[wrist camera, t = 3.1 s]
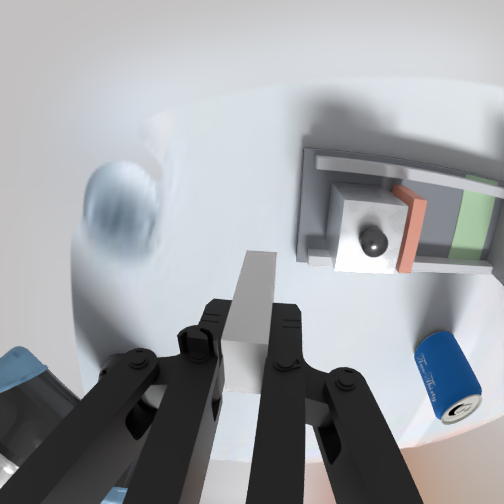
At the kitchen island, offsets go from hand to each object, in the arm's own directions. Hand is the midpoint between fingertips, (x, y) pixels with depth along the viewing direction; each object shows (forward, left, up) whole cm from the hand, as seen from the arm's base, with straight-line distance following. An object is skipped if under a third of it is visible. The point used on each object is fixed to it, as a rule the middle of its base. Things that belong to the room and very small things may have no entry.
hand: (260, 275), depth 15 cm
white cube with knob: (+8, 0, -13) cm, 15 cm away
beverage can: (+24, -18, -14) cm, 33 cm away
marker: (+12, 0, -12) cm, 17 cm away
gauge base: (+17, 0, -14) cm, 22 cm away
